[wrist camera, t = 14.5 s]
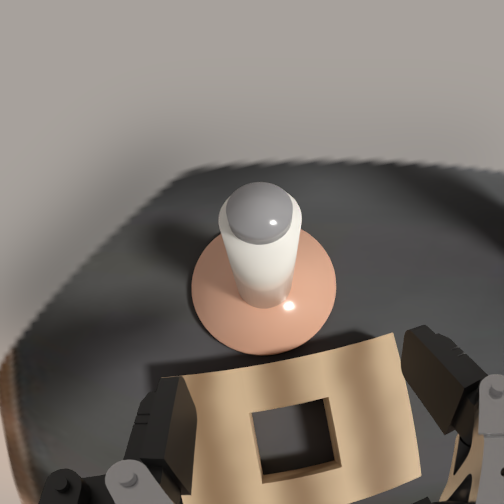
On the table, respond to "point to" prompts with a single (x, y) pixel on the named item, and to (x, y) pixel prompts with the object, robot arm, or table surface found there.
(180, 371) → the table surface
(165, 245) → the table surface
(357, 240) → the table surface
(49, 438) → the table surface
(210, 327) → the terracotta plate
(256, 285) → the pepper mill
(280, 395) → the mill caddy
